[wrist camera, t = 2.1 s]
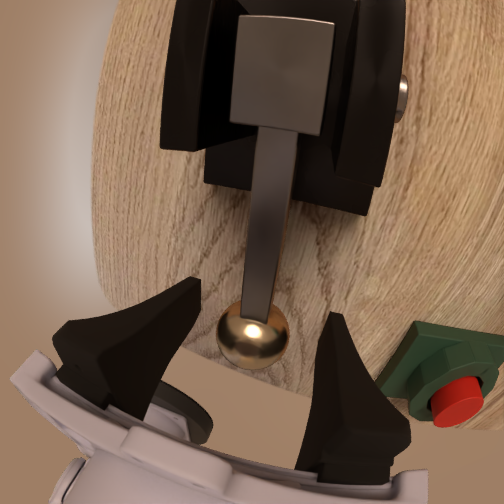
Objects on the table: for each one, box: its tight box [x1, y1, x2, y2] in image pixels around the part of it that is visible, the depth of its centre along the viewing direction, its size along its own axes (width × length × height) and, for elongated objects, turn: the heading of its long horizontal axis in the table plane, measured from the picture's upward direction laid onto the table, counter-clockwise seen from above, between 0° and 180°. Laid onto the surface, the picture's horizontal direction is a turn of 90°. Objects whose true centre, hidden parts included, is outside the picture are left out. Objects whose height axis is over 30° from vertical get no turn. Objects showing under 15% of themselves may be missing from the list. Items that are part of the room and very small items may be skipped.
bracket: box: [160, 0, 408, 216], centre depth 7 cm, size 9×7×6 cm
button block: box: [375, 321, 504, 421], centre depth 13 cm, size 9×6×3 cm
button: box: [430, 376, 484, 428], centre depth 11 cm, size 3×3×2 cm
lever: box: [216, 15, 336, 370], centre depth 9 cm, size 13×3×3 cm, turn 173°
